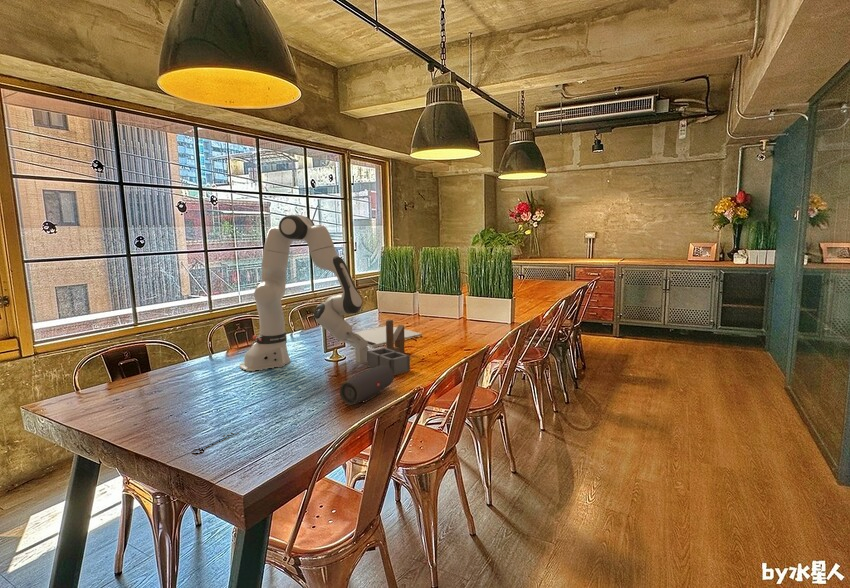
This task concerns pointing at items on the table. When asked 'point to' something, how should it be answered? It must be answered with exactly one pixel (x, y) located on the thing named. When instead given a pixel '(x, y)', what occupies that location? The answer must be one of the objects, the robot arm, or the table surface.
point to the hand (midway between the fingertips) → (361, 348)
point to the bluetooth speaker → (366, 384)
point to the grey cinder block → (389, 360)
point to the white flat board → (382, 335)
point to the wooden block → (394, 337)
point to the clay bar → (360, 355)
